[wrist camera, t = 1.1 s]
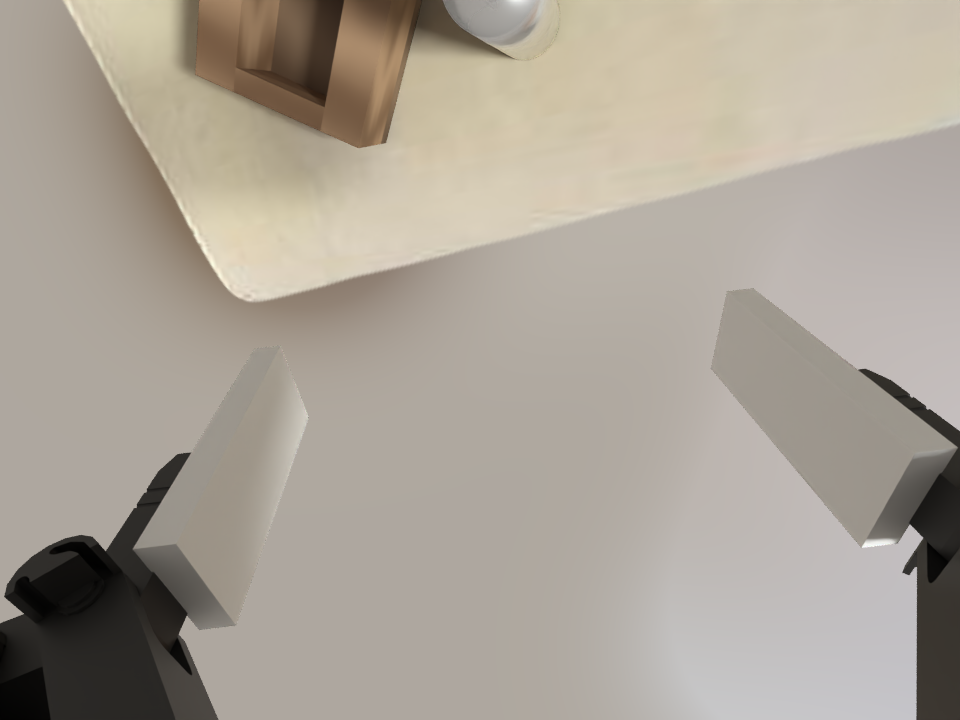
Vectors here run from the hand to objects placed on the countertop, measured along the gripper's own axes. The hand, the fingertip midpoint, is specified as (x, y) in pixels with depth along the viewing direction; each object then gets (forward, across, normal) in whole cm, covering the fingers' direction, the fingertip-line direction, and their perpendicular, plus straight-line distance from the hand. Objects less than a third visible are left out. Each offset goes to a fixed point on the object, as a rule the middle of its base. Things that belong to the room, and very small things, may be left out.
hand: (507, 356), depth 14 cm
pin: (+26, +5, +9) cm, 28 cm away
